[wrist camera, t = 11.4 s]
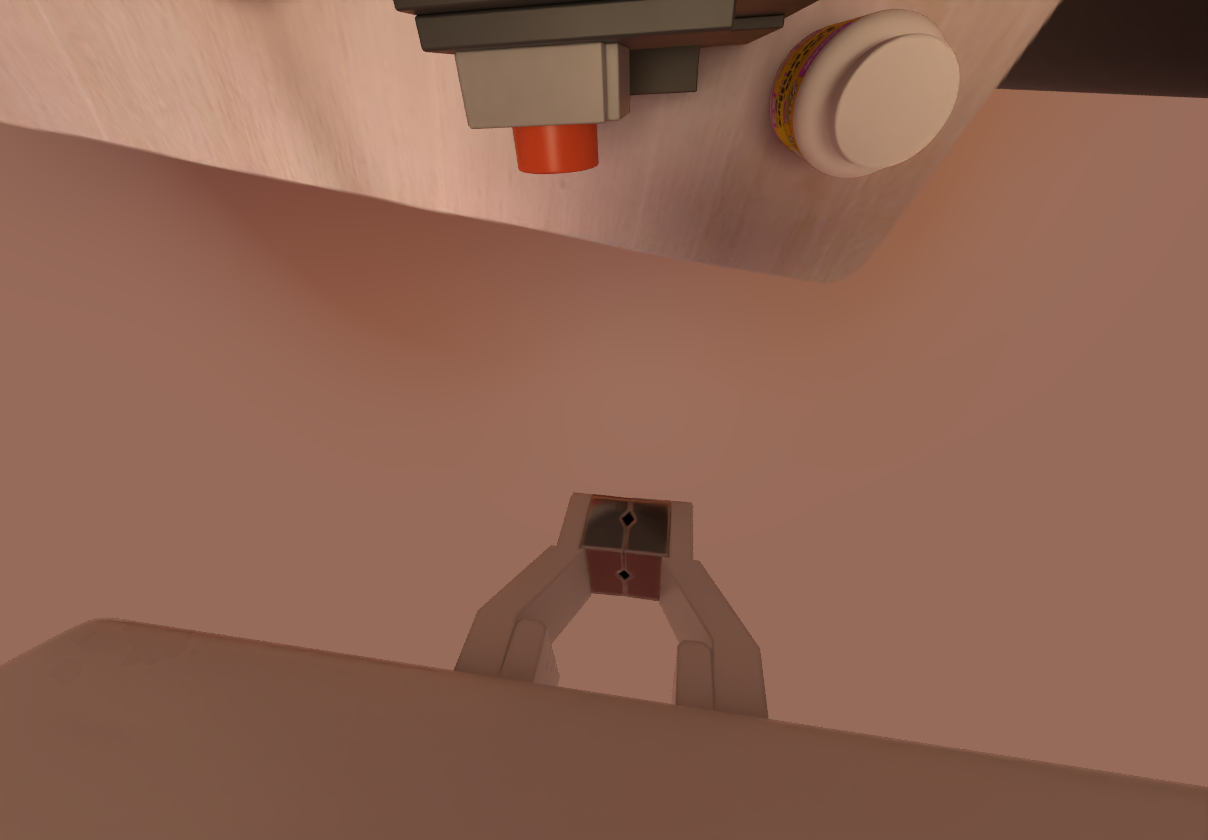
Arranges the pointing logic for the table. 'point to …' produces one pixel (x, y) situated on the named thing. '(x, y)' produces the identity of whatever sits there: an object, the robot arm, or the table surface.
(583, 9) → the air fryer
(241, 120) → the table surface
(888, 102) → the supplement bottle
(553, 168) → the power button
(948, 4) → the table surface
